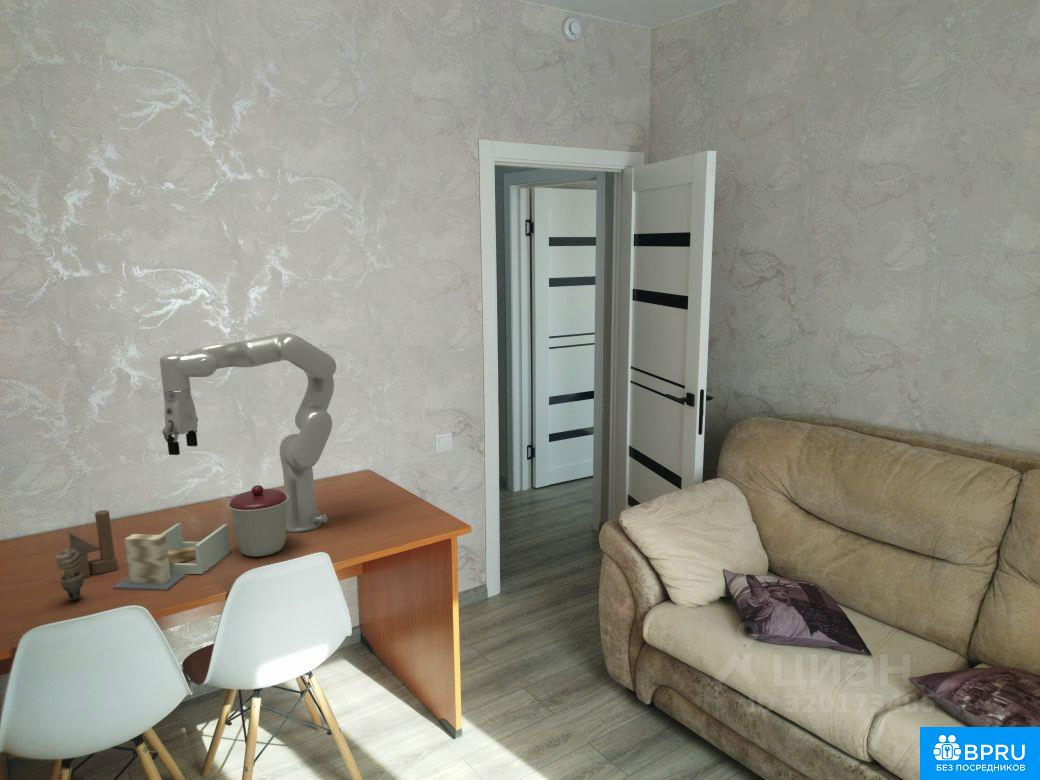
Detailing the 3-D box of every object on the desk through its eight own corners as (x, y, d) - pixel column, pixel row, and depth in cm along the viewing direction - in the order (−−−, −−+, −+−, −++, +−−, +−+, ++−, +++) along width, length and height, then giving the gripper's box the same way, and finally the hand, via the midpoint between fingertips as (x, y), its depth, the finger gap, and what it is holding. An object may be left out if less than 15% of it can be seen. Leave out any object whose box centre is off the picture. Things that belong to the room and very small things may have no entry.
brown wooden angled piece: (74, 576, 212) (65, 517, 208) (115, 565, 218) (108, 508, 215) (76, 580, 209) (67, 520, 205) (118, 569, 215) (110, 511, 212)
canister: (287, 535, 239) (282, 473, 235) (298, 554, 223) (292, 489, 220) (228, 546, 231) (222, 482, 227) (235, 567, 215) (228, 499, 211)
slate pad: (185, 576, 210) (185, 574, 210) (167, 590, 201) (167, 588, 201) (133, 574, 212) (133, 572, 212) (113, 588, 203) (113, 586, 203)
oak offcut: (197, 555, 219) (196, 545, 219) (202, 558, 217) (201, 548, 216) (161, 562, 213) (161, 552, 212) (166, 565, 210) (165, 555, 210)
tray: (230, 551, 227) (227, 524, 225) (201, 575, 211) (198, 545, 209) (180, 550, 229) (177, 523, 227) (148, 573, 212) (144, 544, 211)
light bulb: (80, 605, 194) (72, 552, 191) (58, 606, 193) (50, 553, 190) (90, 595, 199) (82, 543, 196) (69, 596, 199) (61, 544, 196)
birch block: (170, 578, 208) (165, 534, 205) (163, 583, 204) (158, 539, 202) (138, 577, 209) (132, 534, 206) (130, 582, 205) (124, 538, 203)
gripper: (172, 401, 211) (179, 458, 214) (204, 389, 228) (210, 443, 231) (148, 401, 212) (155, 458, 215) (181, 389, 228) (187, 442, 232)
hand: (183, 450), depth 223 cm, fingers open, 9 cm apart
